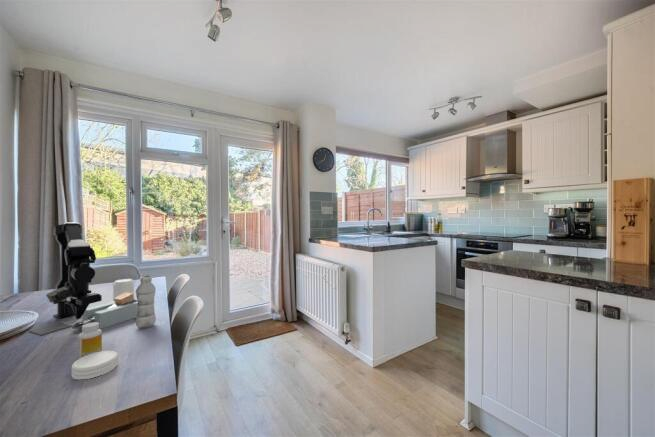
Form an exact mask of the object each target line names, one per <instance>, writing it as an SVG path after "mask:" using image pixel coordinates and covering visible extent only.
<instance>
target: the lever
mask: <svg viewBox="0 0 655 437" xmlns="http://www.w3.org/2000/svg"><path fill="white" fill-rule="evenodd" d="M133 300H134V299H132V300H130V301H128V302H126V303H124V304H117V303H116V304H114V305H112V306H110V307H108V308H112V307H116V306H119V305H125V304H127V303H129V302H131V301H133ZM108 308H106V309H108ZM82 320H83V319H82ZM82 320H81V321H78V322H76V323H74V324H73V325H72V327H71V328H72V329H73V330H76V331H79V330H80V329H82V326H83V325H85V324H88V323H92V322H93V321H94V315H92V316H90V317H88V318H86V319H84V320H83V321H82Z"/></svg>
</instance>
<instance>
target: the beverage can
mask: <svg viewBox="0 0 655 437" xmlns="http://www.w3.org/2000/svg"><path fill="white" fill-rule="evenodd" d="M112 291H113V292H112V295H113V296H112V302H113V301H114V298H115V297H117V296H119V295H121V294H123V293H125V292H127V293H133V296H134V297H135V282H134V279H133V278H123V279H117V280H114V283H113V286H112Z"/></svg>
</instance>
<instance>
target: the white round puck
mask: <svg viewBox="0 0 655 437" xmlns="http://www.w3.org/2000/svg"><path fill="white" fill-rule="evenodd" d="M118 365H119V353H118V352H117V351H114V350H102V351H101V352H96V353H92V354H89V355H86V356H84V357H82V358H78V359H77V360H75V361H74V362H73V363H72V364H71V371H70V372H71V378H72V379H73V380H75V379H89V378H93V377H97V376H100V375H102V374H105V373H107V372H109V371H111V370H112V369H113V370H115V369H116V368H117V367H118ZM116 366H117V367H116ZM115 367H116V368H115ZM114 368H115V369H114ZM113 370H112V371H113ZM112 371H111V372H112ZM109 373H110V372H109ZM107 374H108V373H107ZM105 375H106V374H105ZM102 376H103V375H102ZM100 377H101V376H100ZM97 378H98V377H97ZM93 379H94V378H93ZM89 380H90V379H89Z"/></svg>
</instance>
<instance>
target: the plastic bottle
mask: <svg viewBox="0 0 655 437" xmlns="http://www.w3.org/2000/svg"><path fill="white" fill-rule="evenodd" d="M152 281H153V278H152V275H143V276H140V280H139V282H140V284H139V285H138V286H137V288H136V289H135V297H136V298H137V304H138V310H137V317H135V326H136V327H137V328H138V329H146V328H150V327H153V326H154V325H155V324H156V321H157V320H156V319H157V317H156V313H155V296H156V286H155V285H154V284H153V282H152Z"/></svg>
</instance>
